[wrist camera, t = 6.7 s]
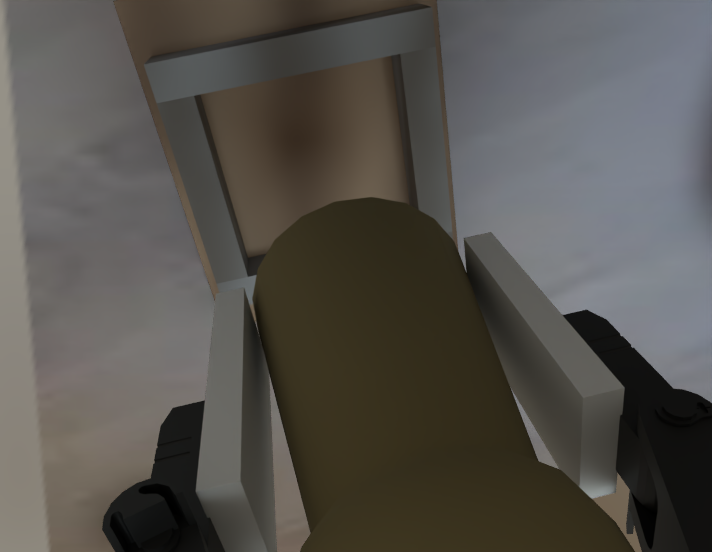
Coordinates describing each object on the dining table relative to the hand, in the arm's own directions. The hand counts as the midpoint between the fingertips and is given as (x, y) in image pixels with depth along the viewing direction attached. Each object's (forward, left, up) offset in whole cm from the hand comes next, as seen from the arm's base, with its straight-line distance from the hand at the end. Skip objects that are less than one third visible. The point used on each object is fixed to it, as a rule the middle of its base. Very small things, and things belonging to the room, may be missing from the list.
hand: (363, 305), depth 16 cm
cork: (0, 0, -1) cm, 1 cm away
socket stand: (0, 0, -15) cm, 15 cm away
